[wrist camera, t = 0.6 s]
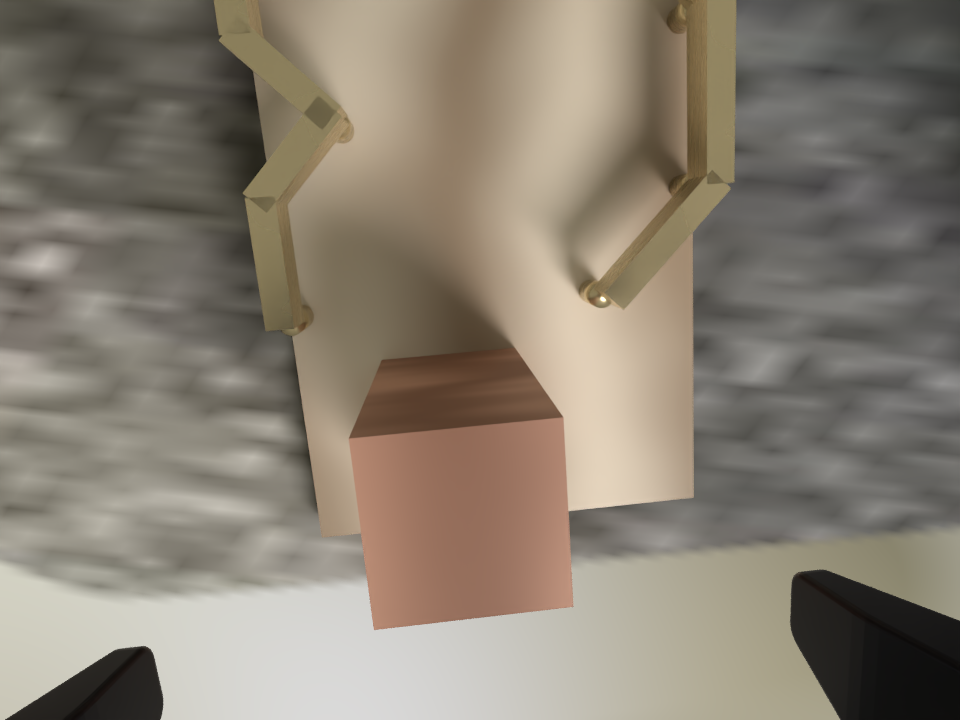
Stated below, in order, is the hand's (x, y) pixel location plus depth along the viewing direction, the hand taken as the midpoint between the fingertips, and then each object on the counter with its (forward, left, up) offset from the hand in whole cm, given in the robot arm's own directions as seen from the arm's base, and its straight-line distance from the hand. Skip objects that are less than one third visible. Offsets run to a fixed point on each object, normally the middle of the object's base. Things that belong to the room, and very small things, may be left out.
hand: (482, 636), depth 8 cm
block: (0, 0, -10) cm, 10 cm away
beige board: (-1, -8, -11) cm, 14 cm away
